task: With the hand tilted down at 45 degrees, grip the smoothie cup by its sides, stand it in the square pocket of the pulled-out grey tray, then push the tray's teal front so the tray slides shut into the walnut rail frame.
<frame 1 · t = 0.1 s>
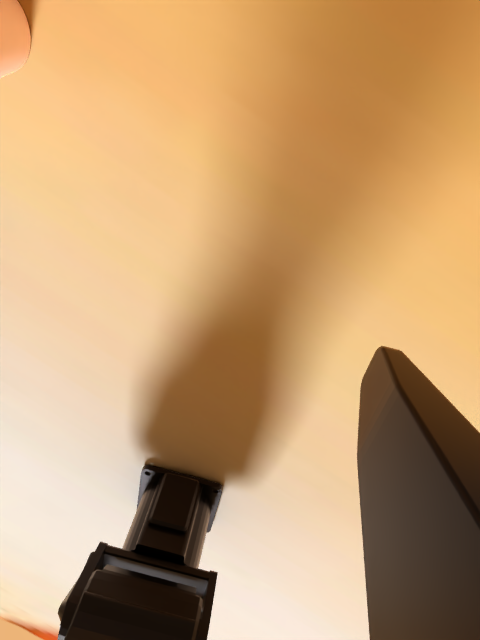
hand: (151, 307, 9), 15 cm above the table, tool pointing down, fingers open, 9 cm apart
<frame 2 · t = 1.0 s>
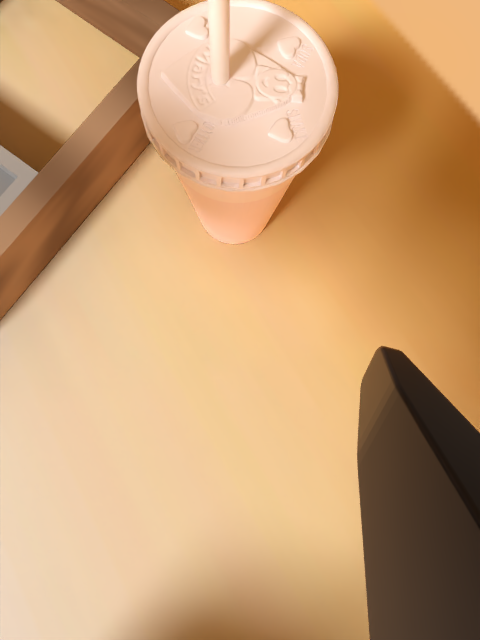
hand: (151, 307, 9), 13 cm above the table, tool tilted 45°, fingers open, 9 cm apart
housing: (31, 100, 24), on the table
smoothie: (234, 212, 23), on the table
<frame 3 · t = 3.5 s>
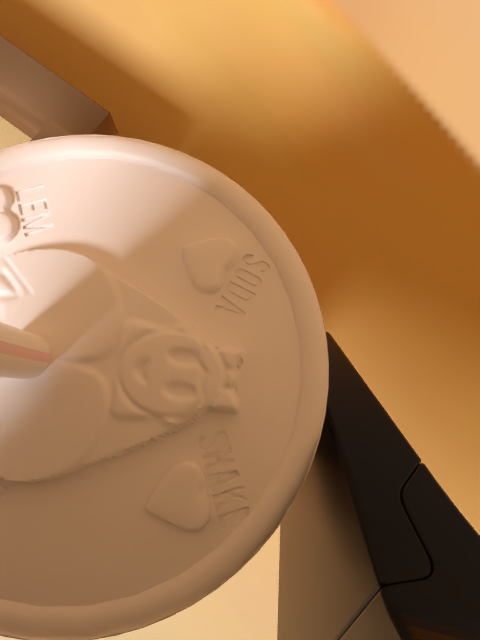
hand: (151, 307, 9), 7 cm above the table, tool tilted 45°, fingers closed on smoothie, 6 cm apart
smoothie: (173, 386, 15), on the table, touching gripper
when the fingers open (8 cm above the table, at t = 8.2 s): smoothie stays where it is, resting on tray.
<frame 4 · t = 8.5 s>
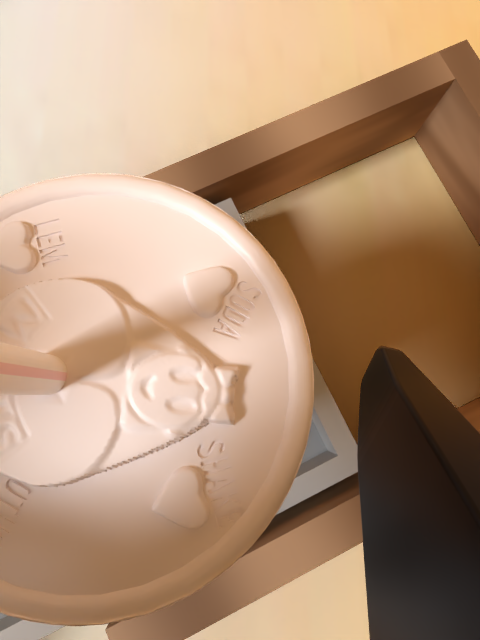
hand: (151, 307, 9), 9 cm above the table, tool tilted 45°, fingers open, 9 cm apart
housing: (361, 300, 18), on the table
smoothie: (175, 391, 16), point 1 cm above the table, touching tray
tray: (39, 448, 14), point 3 cm above the table, slide at 8.0 cm, touching smoothie
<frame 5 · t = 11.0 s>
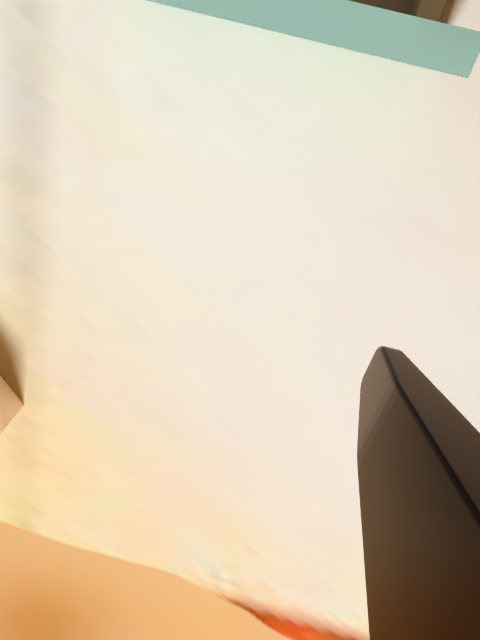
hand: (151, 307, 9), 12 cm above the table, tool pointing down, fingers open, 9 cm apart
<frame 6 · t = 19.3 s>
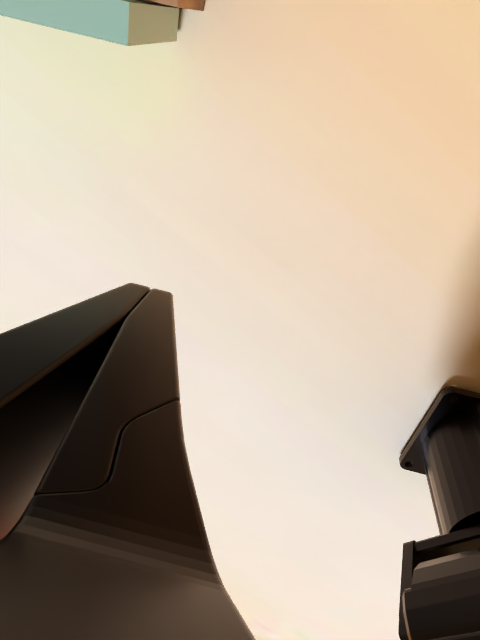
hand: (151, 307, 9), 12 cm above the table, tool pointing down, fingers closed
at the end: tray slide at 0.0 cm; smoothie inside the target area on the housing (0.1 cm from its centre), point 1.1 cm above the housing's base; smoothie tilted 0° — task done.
